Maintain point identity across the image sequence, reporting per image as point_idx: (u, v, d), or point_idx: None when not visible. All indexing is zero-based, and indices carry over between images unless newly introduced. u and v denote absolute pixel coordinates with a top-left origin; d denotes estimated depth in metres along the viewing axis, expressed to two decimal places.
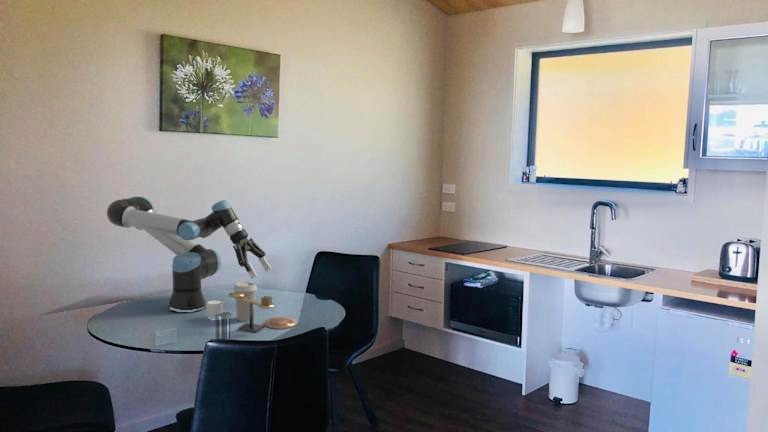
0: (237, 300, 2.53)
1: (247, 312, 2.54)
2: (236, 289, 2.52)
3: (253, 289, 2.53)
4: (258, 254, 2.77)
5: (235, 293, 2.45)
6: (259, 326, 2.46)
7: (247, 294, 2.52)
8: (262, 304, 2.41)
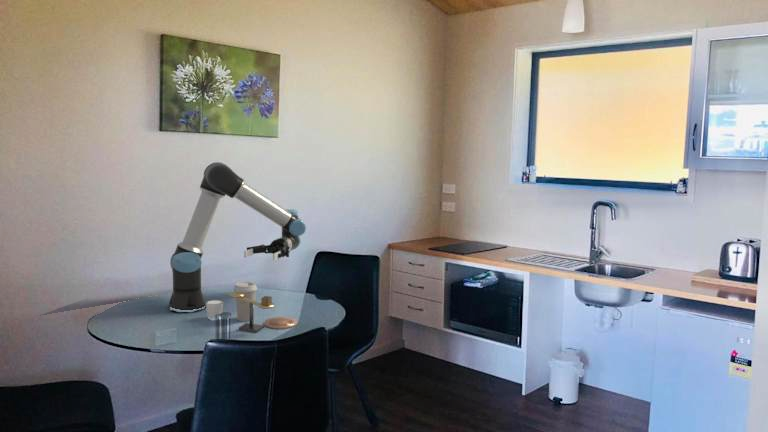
0: (237, 300, 2.53)
1: (247, 312, 2.54)
2: (236, 289, 2.52)
3: (253, 289, 2.53)
4: (256, 251, 2.75)
5: (235, 293, 2.45)
6: (259, 326, 2.46)
7: (247, 294, 2.52)
8: (262, 304, 2.41)
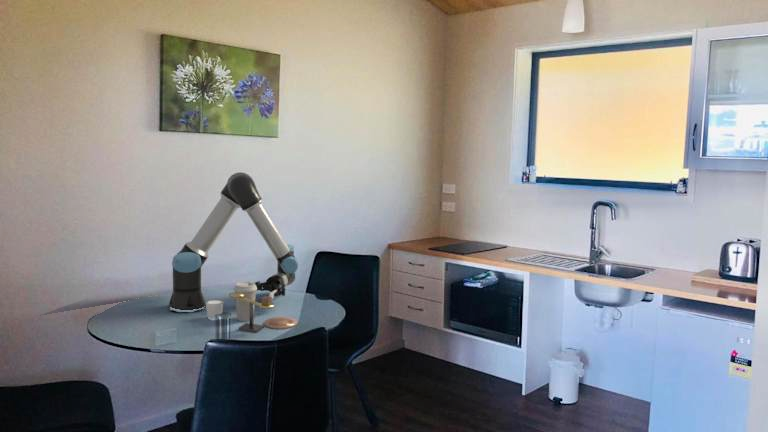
0: (237, 300, 2.53)
1: (247, 312, 2.54)
2: (236, 289, 2.52)
3: (253, 289, 2.53)
4: None
5: (235, 293, 2.45)
6: (259, 326, 2.46)
7: (247, 294, 2.52)
8: (262, 304, 2.41)
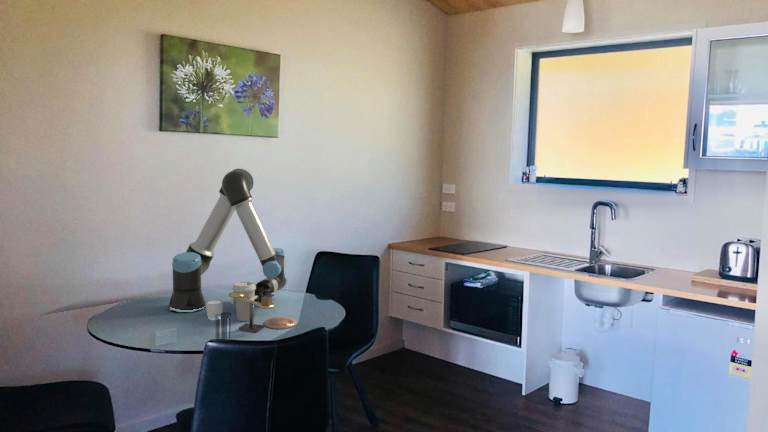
0: (236, 300, 2.53)
1: (247, 312, 2.53)
2: (235, 289, 2.52)
3: (252, 288, 2.53)
4: None
5: (235, 293, 2.45)
6: (259, 326, 2.46)
7: (245, 294, 2.52)
8: (262, 304, 2.41)
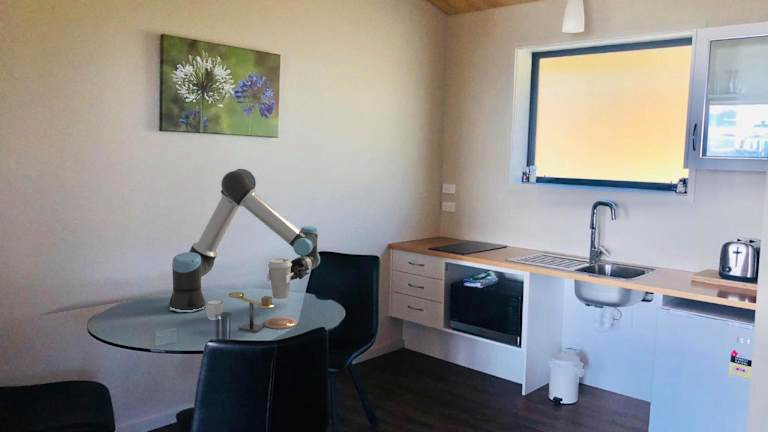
0: (272, 277, 2.47)
1: (283, 289, 2.48)
2: (271, 265, 2.46)
3: (288, 265, 2.47)
4: None
5: (235, 293, 2.45)
6: (259, 326, 2.46)
7: (282, 270, 2.46)
8: (262, 304, 2.41)
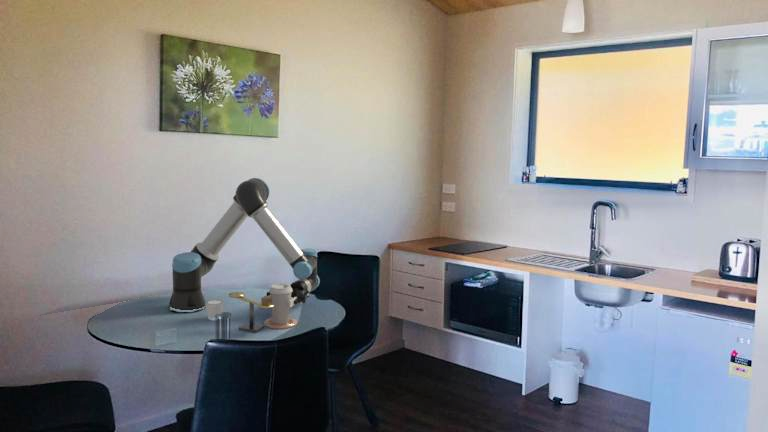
0: (273, 302, 2.49)
1: (283, 314, 2.49)
2: (272, 291, 2.48)
3: (289, 291, 2.49)
4: None
5: (235, 293, 2.45)
6: (259, 326, 2.46)
7: (282, 296, 2.47)
8: (262, 304, 2.41)
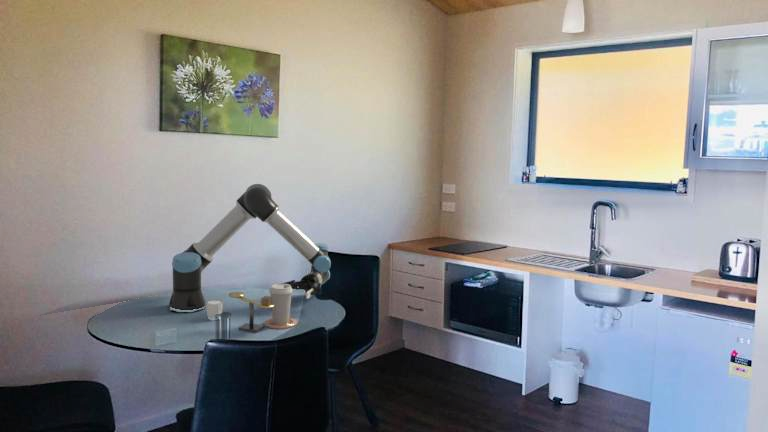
0: (273, 302, 2.49)
1: (283, 315, 2.49)
2: (272, 291, 2.48)
3: (289, 291, 2.49)
4: None
5: (235, 293, 2.45)
6: (259, 326, 2.46)
7: (283, 297, 2.47)
8: (262, 304, 2.41)
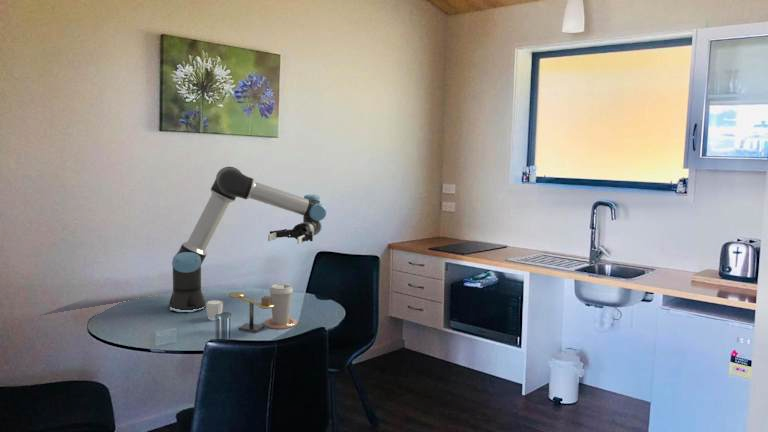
0: (273, 302, 2.49)
1: (283, 315, 2.49)
2: (272, 291, 2.48)
3: (289, 291, 2.49)
4: (279, 235, 2.73)
5: (235, 293, 2.45)
6: (259, 326, 2.46)
7: (283, 297, 2.47)
8: (262, 304, 2.41)
